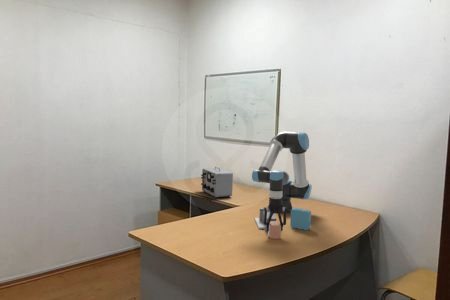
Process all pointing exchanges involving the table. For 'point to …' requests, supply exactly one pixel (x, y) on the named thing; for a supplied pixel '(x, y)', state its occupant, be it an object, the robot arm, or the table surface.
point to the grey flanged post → (261, 218)
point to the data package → (300, 219)
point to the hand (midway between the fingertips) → (274, 236)
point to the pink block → (275, 230)
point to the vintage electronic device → (217, 182)
